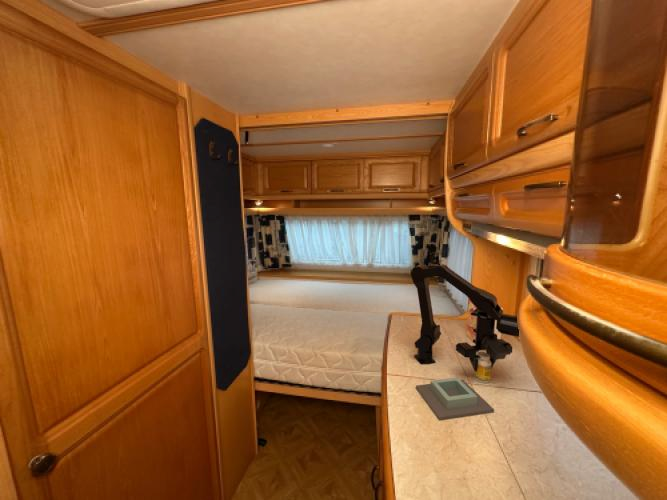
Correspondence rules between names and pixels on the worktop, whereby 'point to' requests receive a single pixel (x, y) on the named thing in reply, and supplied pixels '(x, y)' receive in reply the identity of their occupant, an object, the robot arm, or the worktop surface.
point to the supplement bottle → (483, 368)
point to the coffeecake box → (472, 323)
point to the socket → (453, 399)
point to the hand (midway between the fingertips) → (482, 369)
